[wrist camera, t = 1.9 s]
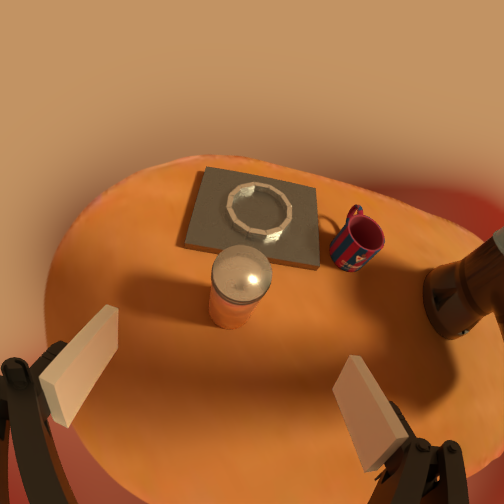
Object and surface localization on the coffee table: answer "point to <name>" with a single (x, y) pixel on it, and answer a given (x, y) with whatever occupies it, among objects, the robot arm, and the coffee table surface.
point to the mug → (356, 241)
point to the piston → (237, 285)
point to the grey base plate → (256, 218)
